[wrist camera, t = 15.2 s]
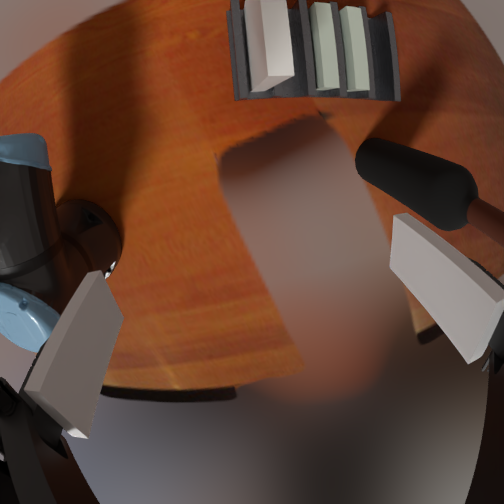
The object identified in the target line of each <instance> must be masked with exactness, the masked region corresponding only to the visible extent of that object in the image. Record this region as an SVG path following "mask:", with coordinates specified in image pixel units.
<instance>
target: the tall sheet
mask: <svg viewBox="0 0 504 504" xmlns="http://www.w3.org/2000/svg"><path fill="white" fill-rule="evenodd" d="M243 25H244V35H245V45H246V55H247V65H248V76H249V87H250V92H259V91H266V90H268V89H270V88H271V87H273V86H275V85H277V84H279V83H281V82H283V81H285V80H287V79H289V78H290V77H292V76H294V65H293V55H292V45H291V36H290V27H289V19H288V11H287V3H286V0H245V4H244V10H243Z"/></svg>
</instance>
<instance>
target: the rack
mask: <svg viewBox="0 0 504 504" xmlns="http://www.w3.org/2000/svg"><path fill="white" fill-rule="evenodd" d="M329 4H330V6H331V12H332V19H333V26H334V34H335V43H336V52H337V62H338V73H339V86H340V88H335V89H329V90H316V84H315V72H314V61H313V51H312V41H311V33H310V24H309V17H308V9H307V2H306V0H297V1H296V3H295V4H294V6H293V7H292V8H291V9H287V11H288V19H289V27H290V36H291V45H292V55H293V65H294V76H292V77H290V78H289V79H287V80H285V81H283V82H281V83H279V84H277V85H275V86H273V87H271V88H270V89H268V90H266V91H259V92H250V87H249V76H248V65H247V55H246V45H245V35H244V25H243V10H240V5H239V0H231V1H230V11H226V15H227V25H228V36H229V46H230V57H231V67H232V78H233V88H234V98H235V101H238V100H250V99H265V98H288V97H331V98H353V99H368V100H379V101H401V96H400V78H399V66H398V55H397V46H396V38H395V31H394V25H393V19H392V13H390V12H384V13H381V14H379V15H377V16H375V17H373V18H367V12H366V7H362V6H358V7H357V8H361V14H362V20H363V27H364V34H365V42H366V51H367V61H368V72H369V86H370V90H364V91H352V92H350V91H347V85H346V72H345V60H344V50H343V41H342V33H341V26H340V18H339V12H338V5H337V2H329Z"/></svg>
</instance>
